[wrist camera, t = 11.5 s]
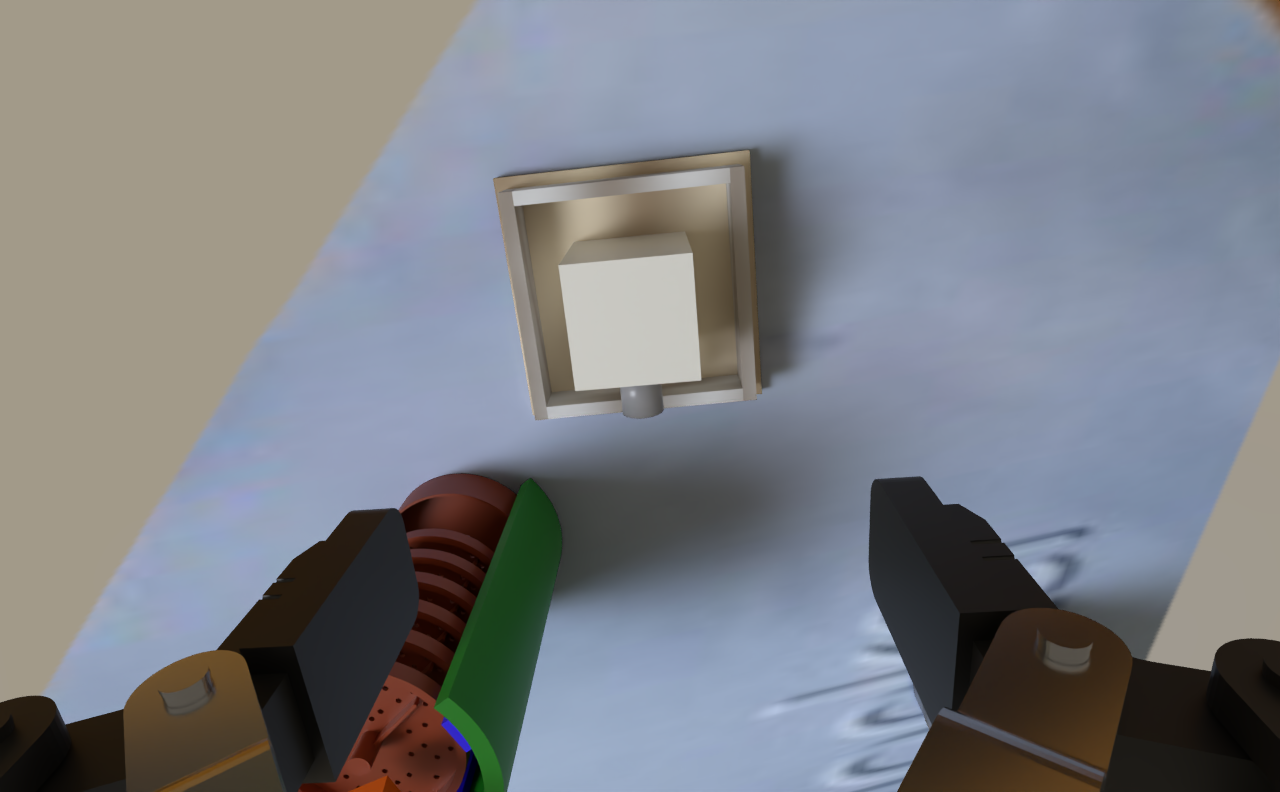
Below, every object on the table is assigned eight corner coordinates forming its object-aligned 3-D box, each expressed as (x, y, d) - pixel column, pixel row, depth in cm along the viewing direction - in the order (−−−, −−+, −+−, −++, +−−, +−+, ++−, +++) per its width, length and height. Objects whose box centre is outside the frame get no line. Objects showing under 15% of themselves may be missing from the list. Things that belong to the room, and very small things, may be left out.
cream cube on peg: (684, 231, 32) (692, 252, 27) (695, 378, 35) (704, 427, 29) (574, 241, 33) (558, 265, 27) (592, 387, 35) (581, 437, 29)
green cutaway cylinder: (489, 431, 36) (320, 751, 18) (600, 552, 39) (556, 948, 20) (349, 538, 39) (68, 922, 20) (462, 646, 41) (306, 1081, 22)
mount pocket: (747, 150, 32) (756, 151, 29) (759, 389, 36) (768, 408, 33) (495, 177, 32) (483, 181, 30) (534, 410, 36) (526, 431, 34)
